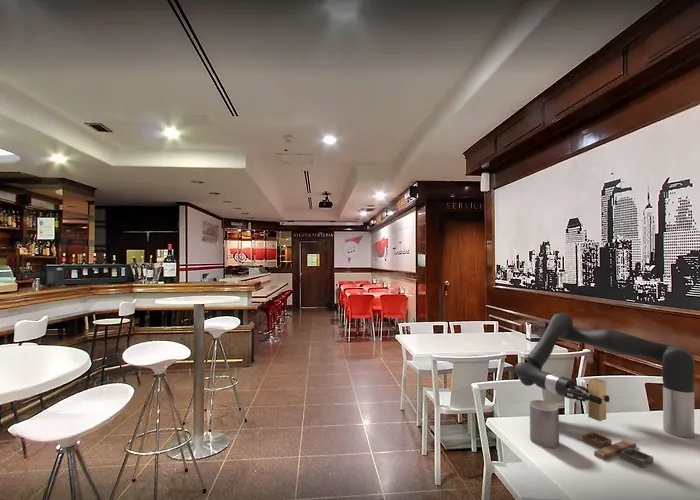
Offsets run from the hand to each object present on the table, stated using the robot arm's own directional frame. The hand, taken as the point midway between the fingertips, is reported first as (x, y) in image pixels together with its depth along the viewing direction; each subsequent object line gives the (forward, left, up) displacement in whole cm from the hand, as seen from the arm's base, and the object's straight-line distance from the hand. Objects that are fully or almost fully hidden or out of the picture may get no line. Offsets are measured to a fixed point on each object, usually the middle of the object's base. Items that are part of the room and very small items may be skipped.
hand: (604, 400), depth 135 cm
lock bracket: (0, +4, -17) cm, 17 cm away
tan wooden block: (0, -3, -8) cm, 8 cm away
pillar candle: (+17, -12, -17) cm, 27 cm away
